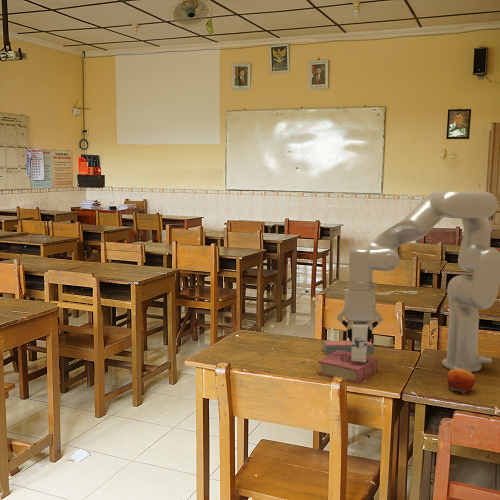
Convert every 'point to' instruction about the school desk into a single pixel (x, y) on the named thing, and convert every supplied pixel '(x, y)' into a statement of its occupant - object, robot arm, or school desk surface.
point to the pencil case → (343, 346)
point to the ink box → (359, 341)
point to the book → (347, 366)
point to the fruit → (460, 380)
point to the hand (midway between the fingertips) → (359, 340)
